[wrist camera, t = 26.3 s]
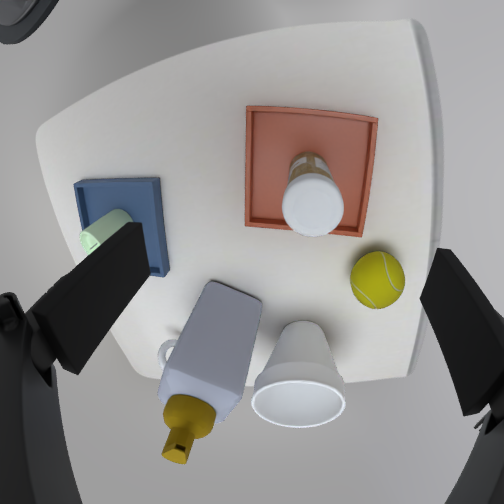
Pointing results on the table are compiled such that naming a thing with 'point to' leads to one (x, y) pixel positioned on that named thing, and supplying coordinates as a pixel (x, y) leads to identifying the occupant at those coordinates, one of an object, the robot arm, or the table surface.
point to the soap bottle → (207, 366)
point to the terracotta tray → (303, 140)
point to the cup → (300, 380)
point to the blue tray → (128, 211)
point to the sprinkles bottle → (311, 197)
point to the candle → (103, 229)
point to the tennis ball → (377, 280)
